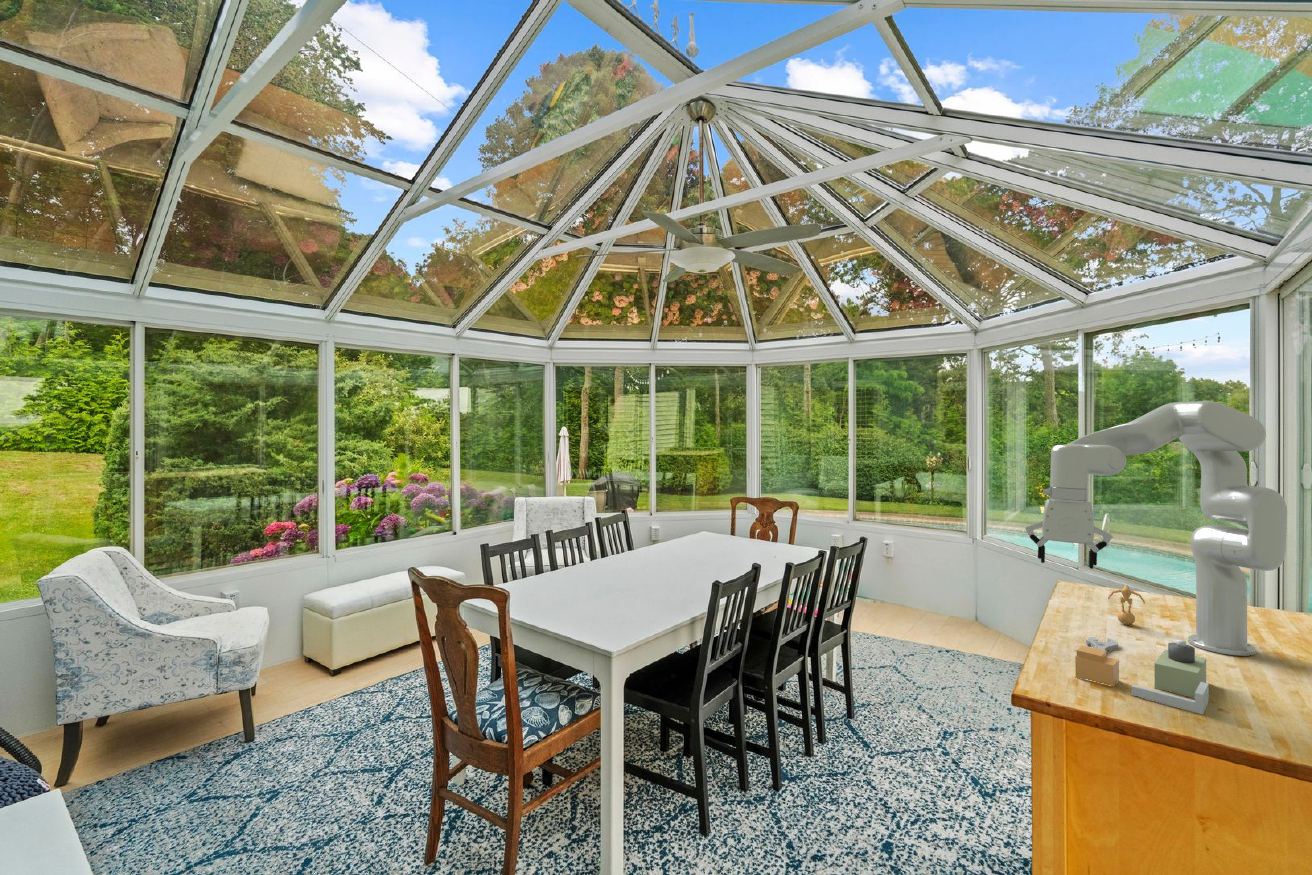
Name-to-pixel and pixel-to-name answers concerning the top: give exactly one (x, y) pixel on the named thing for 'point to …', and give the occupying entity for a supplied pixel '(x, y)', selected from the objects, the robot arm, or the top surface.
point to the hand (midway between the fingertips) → (1066, 564)
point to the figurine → (1127, 616)
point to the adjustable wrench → (1102, 644)
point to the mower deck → (1179, 679)
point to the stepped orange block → (1096, 666)
